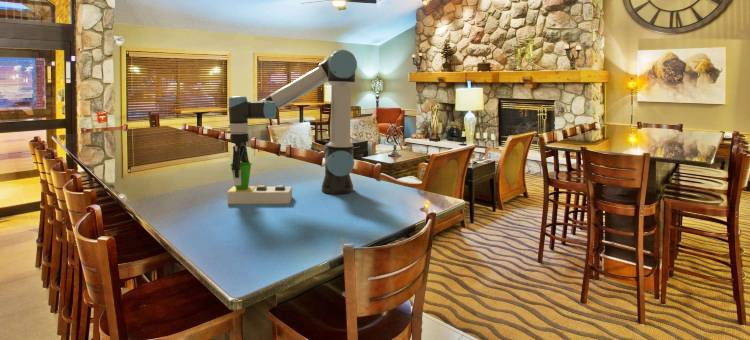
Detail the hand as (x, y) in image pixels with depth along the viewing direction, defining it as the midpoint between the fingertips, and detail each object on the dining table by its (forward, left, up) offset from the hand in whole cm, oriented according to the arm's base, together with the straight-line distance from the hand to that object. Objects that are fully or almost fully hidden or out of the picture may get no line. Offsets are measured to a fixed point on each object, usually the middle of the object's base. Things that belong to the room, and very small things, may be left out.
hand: (241, 181), depth 206 cm
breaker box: (-8, 0, -8) cm, 12 cm away
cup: (0, 0, -3) cm, 3 cm away
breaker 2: (-16, 0, -8) cm, 18 cm away
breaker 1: (-8, 0, -8) cm, 12 cm away
